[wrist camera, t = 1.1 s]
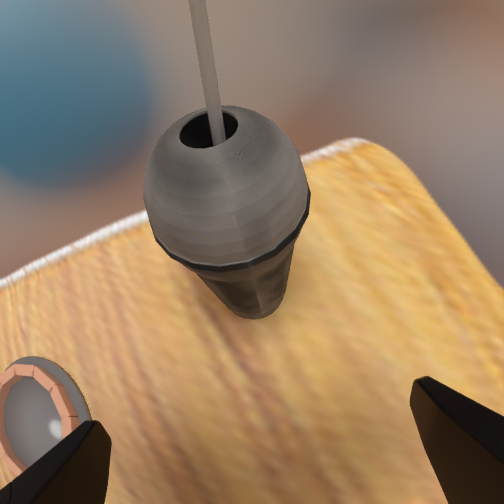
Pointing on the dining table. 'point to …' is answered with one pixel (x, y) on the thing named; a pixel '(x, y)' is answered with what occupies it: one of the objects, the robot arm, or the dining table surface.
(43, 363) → the cup holder
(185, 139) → the beverage cup
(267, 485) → the dining table surface
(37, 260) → the dining table surface
